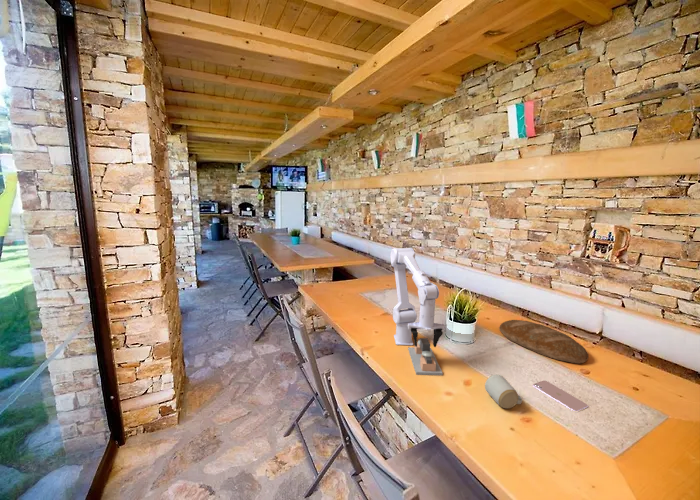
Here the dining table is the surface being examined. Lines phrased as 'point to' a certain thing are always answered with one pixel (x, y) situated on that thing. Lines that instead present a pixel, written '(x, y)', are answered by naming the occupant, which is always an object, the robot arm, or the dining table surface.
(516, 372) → the dining table surface
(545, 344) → the bread
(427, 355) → the stacked ball block column
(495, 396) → the ceramic mug
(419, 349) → the display stand
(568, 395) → the mobile phone
